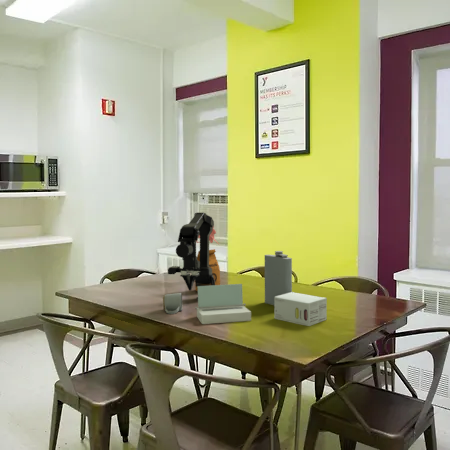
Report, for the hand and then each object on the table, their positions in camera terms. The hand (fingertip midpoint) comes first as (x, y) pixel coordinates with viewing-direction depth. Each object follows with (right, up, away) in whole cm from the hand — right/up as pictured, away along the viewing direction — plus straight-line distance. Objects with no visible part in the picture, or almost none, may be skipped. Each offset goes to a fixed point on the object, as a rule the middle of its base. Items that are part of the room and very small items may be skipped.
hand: (190, 290), depth 204 cm
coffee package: (+6, -7, +44) cm, 45 cm away
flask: (+40, -8, +9) cm, 42 cm away
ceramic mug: (-7, -10, 0) cm, 12 cm away
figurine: (+7, -5, +71) cm, 72 cm away
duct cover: (+13, -1, -9) cm, 16 cm away
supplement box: (+46, -10, -15) cm, 49 cm away
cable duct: (+15, -10, -13) cm, 22 cm away
